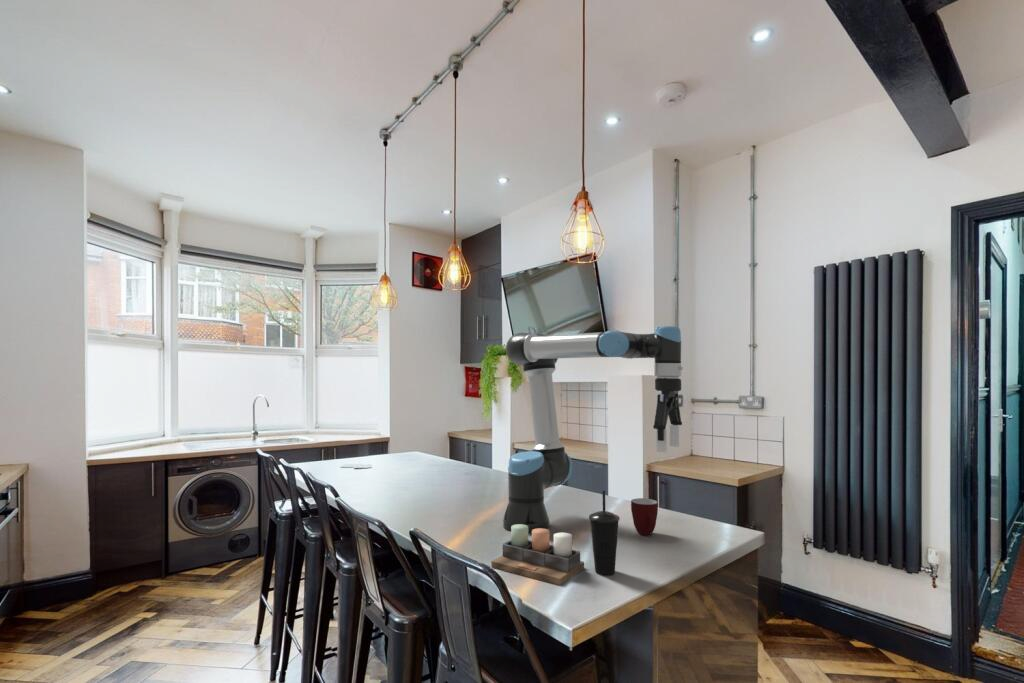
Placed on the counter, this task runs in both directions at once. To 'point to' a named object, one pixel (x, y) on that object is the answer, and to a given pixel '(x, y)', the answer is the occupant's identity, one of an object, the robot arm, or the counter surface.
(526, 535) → the pale green rounded cylinder
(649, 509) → the mug
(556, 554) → the button ivory
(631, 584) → the counter surface
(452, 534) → the counter surface
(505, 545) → the wooden compartment tray
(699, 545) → the counter surface
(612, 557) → the drinking cup
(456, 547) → the counter surface
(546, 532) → the button terracotta
